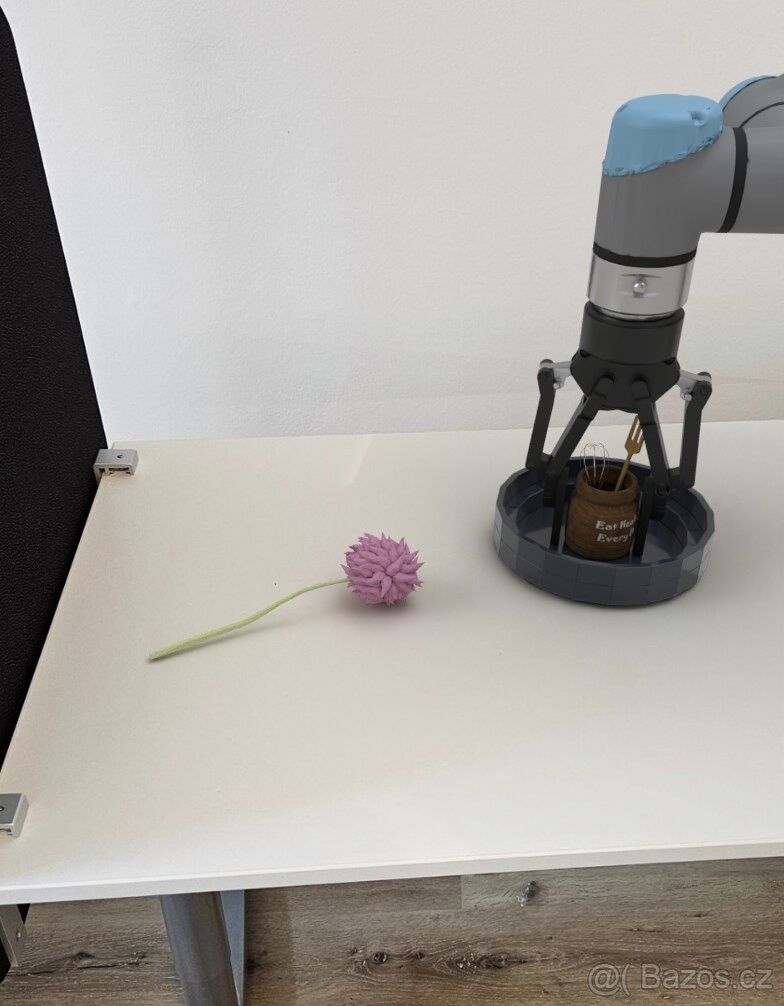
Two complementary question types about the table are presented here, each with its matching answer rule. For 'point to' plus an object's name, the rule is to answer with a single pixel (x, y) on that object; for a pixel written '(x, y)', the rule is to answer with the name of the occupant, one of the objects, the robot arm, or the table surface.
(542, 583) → the bowl
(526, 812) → the table surface
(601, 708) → the table surface
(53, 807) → the table surface
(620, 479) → the utensil holder
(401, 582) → the artificial flower
